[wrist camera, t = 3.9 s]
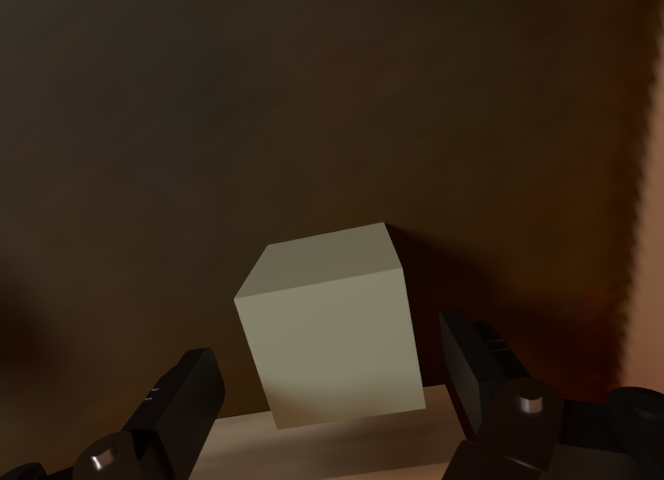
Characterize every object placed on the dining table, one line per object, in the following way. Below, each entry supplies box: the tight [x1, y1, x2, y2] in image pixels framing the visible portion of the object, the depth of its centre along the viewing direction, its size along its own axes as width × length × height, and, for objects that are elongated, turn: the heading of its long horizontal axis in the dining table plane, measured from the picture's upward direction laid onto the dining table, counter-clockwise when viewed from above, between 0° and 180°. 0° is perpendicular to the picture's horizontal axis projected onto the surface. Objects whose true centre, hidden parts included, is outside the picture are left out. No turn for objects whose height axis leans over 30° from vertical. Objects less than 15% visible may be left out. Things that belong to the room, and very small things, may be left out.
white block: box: [234, 222, 426, 430], centre depth 13 cm, size 5×5×5 cm
